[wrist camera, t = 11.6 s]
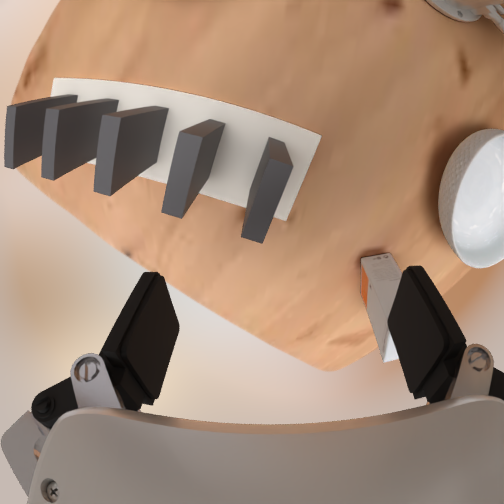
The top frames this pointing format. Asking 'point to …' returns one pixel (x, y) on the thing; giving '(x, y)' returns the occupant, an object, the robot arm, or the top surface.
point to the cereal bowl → (475, 199)
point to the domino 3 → (127, 146)
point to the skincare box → (380, 298)
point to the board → (231, 143)
